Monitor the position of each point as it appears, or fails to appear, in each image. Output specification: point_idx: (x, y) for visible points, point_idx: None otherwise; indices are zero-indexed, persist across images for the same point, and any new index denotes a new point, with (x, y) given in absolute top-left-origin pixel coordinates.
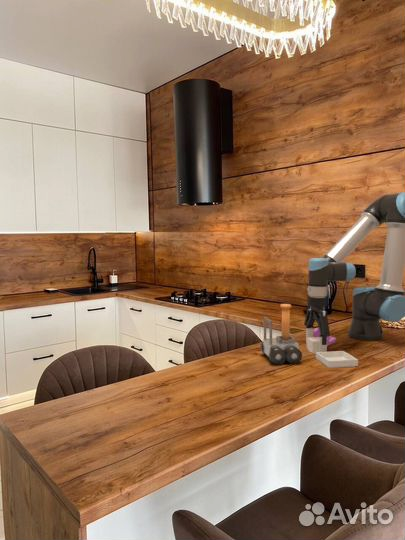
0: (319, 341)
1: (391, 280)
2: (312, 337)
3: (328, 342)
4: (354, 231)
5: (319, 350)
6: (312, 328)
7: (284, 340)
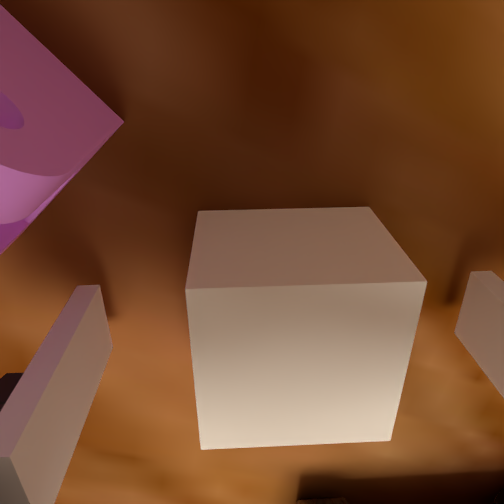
0: (404, 371)
1: None
2: (197, 396)
3: (22, 45)
4: None
5: (471, 346)
6: (9, 466)
7: None
